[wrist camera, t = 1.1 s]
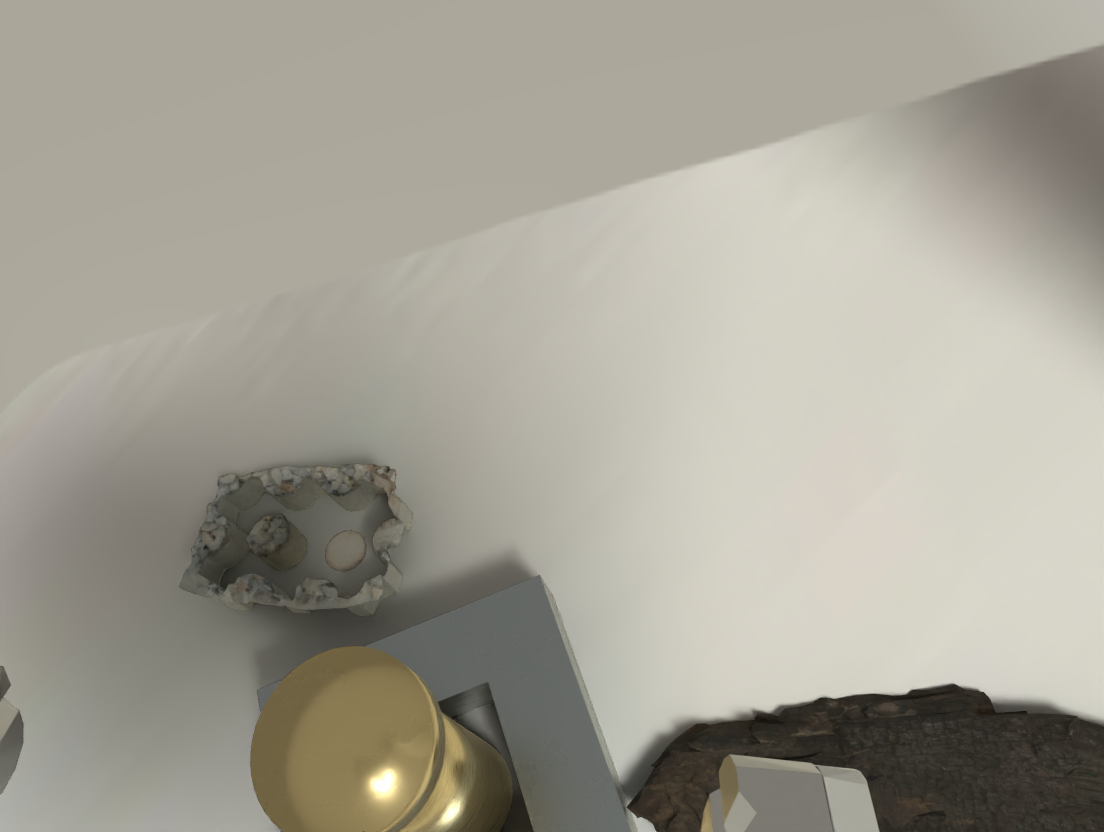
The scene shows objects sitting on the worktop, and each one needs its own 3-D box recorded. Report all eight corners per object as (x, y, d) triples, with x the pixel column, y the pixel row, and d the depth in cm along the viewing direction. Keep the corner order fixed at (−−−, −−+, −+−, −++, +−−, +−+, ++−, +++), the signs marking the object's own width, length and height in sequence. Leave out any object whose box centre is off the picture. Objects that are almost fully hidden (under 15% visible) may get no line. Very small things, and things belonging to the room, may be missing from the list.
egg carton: (427, 494, 50) (402, 461, 47) (395, 633, 47) (365, 609, 43) (248, 482, 53) (211, 449, 49) (205, 613, 49) (162, 588, 46)
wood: (1164, 686, 39) (1193, 669, 36) (1217, 886, 35) (1252, 882, 33) (632, 689, 43) (623, 673, 41) (631, 867, 40) (622, 862, 37)
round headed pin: (501, 701, 44) (405, 618, 32) (544, 839, 40) (453, 801, 29) (378, 752, 44) (237, 686, 32) (411, 893, 41) (267, 877, 29)
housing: (552, 595, 46) (539, 574, 43) (662, 901, 38) (655, 898, 36) (285, 703, 46) (256, 690, 43) (346, 1029, 39) (316, 1036, 36)
